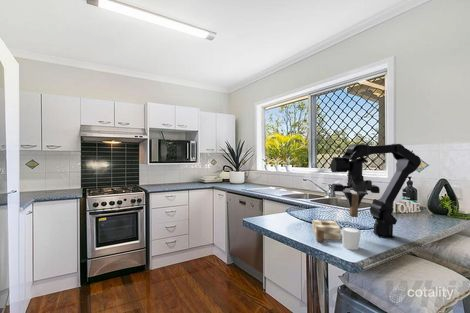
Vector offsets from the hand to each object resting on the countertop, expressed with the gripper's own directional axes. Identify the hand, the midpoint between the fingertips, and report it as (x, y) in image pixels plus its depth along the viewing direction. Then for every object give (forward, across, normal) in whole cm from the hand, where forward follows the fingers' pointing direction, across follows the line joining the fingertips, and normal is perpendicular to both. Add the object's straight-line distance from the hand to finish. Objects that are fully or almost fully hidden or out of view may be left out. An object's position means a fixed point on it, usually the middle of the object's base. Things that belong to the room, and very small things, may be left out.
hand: (353, 207), depth 108 cm
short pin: (+13, -16, -9) cm, 22 cm away
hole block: (+13, -12, -1) cm, 18 cm away
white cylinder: (+13, -5, -13) cm, 19 cm away
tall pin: (+4, 0, 0) cm, 4 cm away
